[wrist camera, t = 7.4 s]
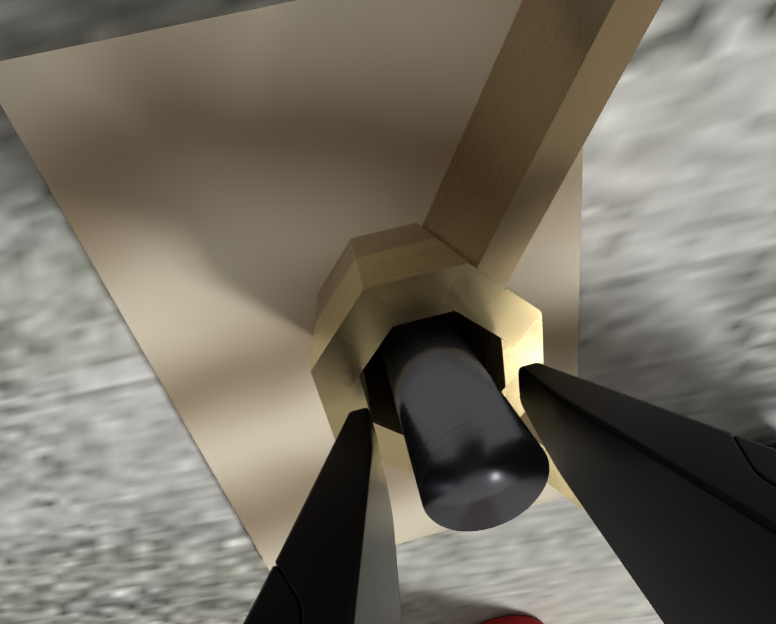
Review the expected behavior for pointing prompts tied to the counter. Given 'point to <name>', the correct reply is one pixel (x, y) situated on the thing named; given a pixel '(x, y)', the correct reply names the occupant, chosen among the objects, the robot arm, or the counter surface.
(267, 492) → the mounting board
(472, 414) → the pin
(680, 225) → the counter surface
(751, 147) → the counter surface
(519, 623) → the canned food
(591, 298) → the counter surface
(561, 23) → the spoked octagonal hub
